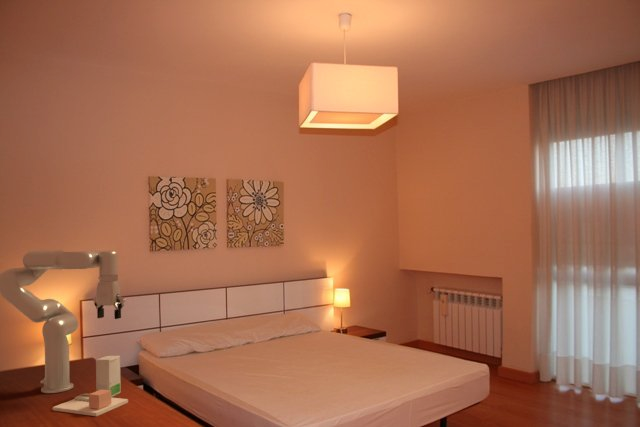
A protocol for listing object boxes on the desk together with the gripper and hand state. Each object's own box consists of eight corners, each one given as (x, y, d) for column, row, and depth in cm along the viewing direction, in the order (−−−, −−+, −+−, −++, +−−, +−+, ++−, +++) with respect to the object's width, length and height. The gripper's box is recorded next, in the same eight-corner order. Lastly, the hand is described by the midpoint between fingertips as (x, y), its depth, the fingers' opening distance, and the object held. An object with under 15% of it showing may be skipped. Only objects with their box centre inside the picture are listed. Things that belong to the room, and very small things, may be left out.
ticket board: (52, 410, 194) (52, 404, 194) (86, 397, 209) (86, 391, 209) (96, 416, 186) (96, 409, 186) (128, 402, 201) (128, 396, 201)
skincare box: (109, 398, 206) (109, 360, 207) (95, 398, 208) (94, 359, 208) (121, 392, 214) (121, 355, 215) (107, 391, 216) (107, 354, 216)
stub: (89, 407, 191) (88, 394, 191) (101, 402, 197) (101, 389, 197) (99, 408, 189) (99, 395, 189) (111, 403, 195) (111, 390, 195)
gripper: (87, 279, 223) (87, 318, 222) (117, 279, 216) (118, 320, 216) (100, 278, 230) (100, 316, 229) (130, 278, 223) (130, 317, 223)
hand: (109, 318), depth 222 cm, fingers open, 9 cm apart
